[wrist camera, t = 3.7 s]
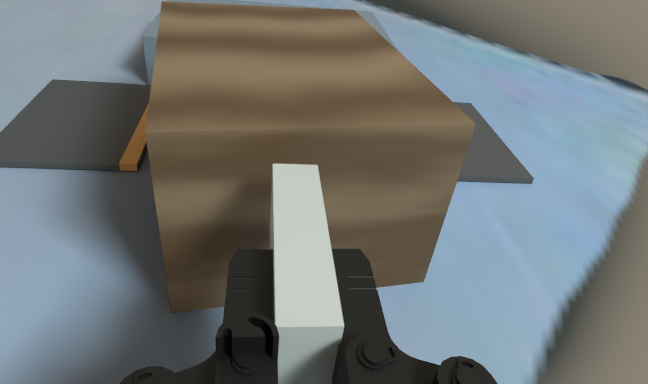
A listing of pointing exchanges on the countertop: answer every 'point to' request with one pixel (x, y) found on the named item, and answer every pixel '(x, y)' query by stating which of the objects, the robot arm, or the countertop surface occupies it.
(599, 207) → the countertop surface
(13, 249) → the countertop surface
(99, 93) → the mats
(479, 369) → the robot arm
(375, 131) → the walnut block
